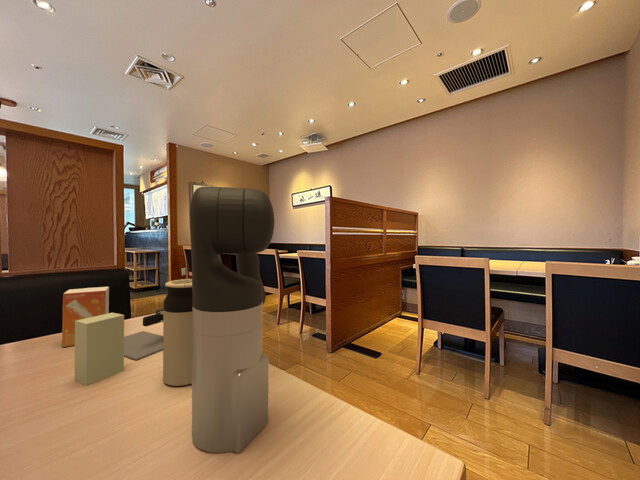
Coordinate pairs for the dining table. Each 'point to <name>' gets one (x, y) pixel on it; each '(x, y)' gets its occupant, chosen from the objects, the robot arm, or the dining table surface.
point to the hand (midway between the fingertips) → (155, 324)
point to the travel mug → (178, 333)
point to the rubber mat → (142, 345)
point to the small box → (82, 309)
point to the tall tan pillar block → (99, 347)
